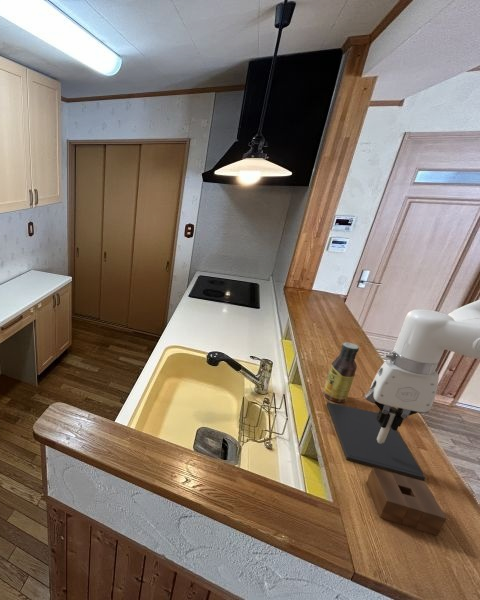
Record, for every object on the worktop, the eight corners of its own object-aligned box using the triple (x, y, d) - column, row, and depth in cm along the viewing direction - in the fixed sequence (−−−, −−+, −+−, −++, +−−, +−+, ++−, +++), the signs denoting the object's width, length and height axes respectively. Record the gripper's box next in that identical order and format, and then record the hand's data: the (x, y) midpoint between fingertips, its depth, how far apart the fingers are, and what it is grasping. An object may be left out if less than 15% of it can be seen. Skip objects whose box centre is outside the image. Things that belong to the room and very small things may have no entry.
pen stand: (417, 497, 73) (425, 481, 71) (438, 536, 65) (447, 518, 63) (365, 483, 77) (372, 467, 75) (379, 517, 69) (386, 500, 67)
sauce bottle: (321, 389, 110) (336, 337, 103) (344, 395, 107) (361, 342, 100) (323, 400, 105) (339, 346, 98) (347, 406, 102) (365, 351, 95)
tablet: (386, 417, 97) (387, 414, 97) (424, 480, 77) (425, 477, 76) (326, 404, 103) (327, 401, 103) (346, 459, 83) (347, 456, 83)
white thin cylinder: (382, 442, 83) (396, 407, 79) (384, 446, 82) (398, 411, 78) (374, 440, 84) (388, 405, 80) (376, 444, 83) (390, 409, 79)
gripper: (375, 362, 74) (352, 425, 81) (469, 379, 68) (436, 446, 75) (364, 348, 81) (344, 407, 87) (450, 361, 74) (421, 425, 81)
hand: (386, 425), depth 81 cm, fingers closed on white thin cylinder, 1 cm apart
